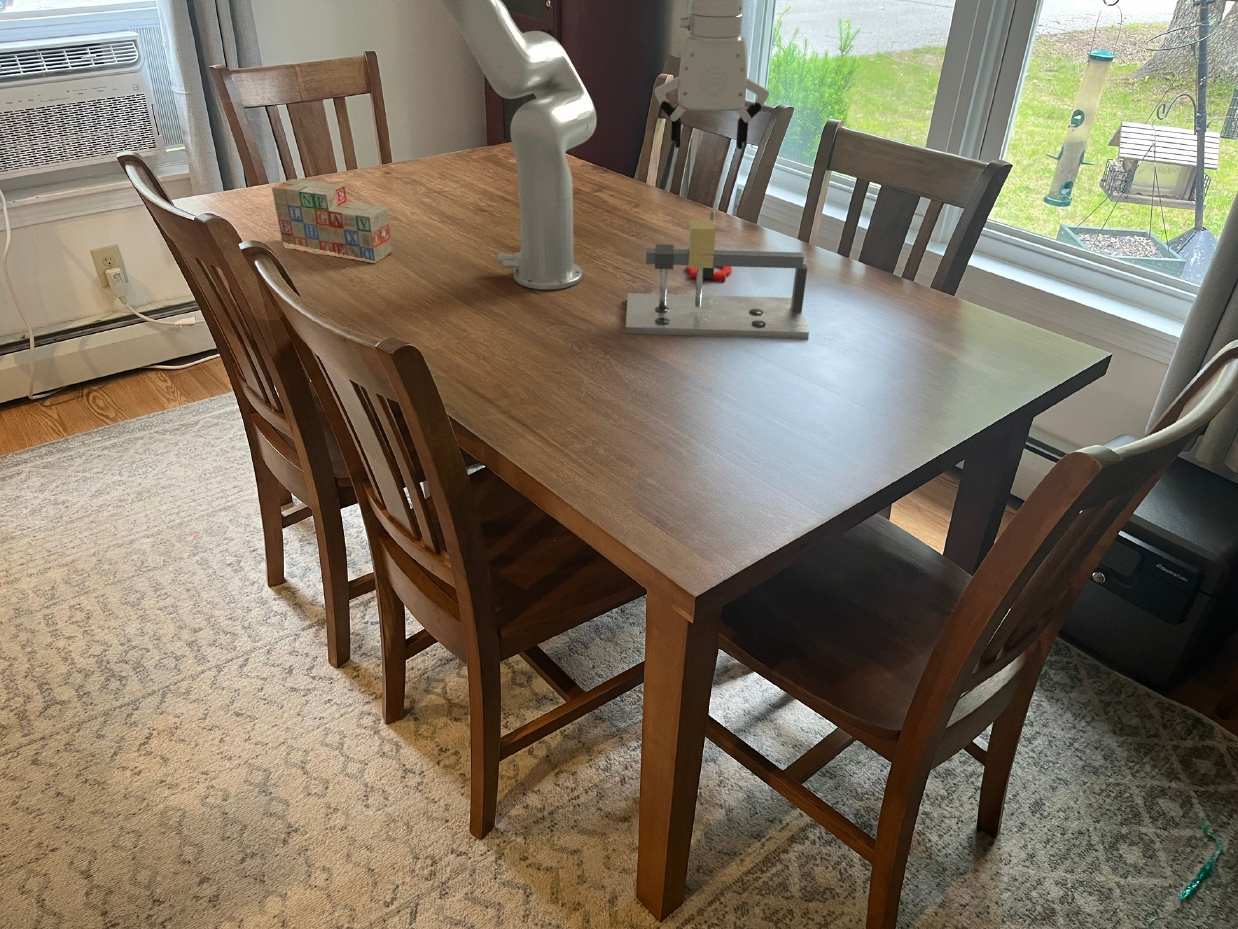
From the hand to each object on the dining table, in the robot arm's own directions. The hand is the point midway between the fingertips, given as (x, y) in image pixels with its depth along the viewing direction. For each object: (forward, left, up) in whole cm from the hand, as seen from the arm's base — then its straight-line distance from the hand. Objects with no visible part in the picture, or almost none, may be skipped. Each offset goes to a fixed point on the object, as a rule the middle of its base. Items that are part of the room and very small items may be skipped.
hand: (708, 146), depth 149 cm
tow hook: (+3, +19, -29) cm, 34 cm away
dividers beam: (+4, 0, -27) cm, 27 cm away
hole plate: (+3, -2, -28) cm, 28 cm away
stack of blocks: (-69, +25, -29) cm, 79 cm away
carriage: (0, 0, -26) cm, 26 cm away
